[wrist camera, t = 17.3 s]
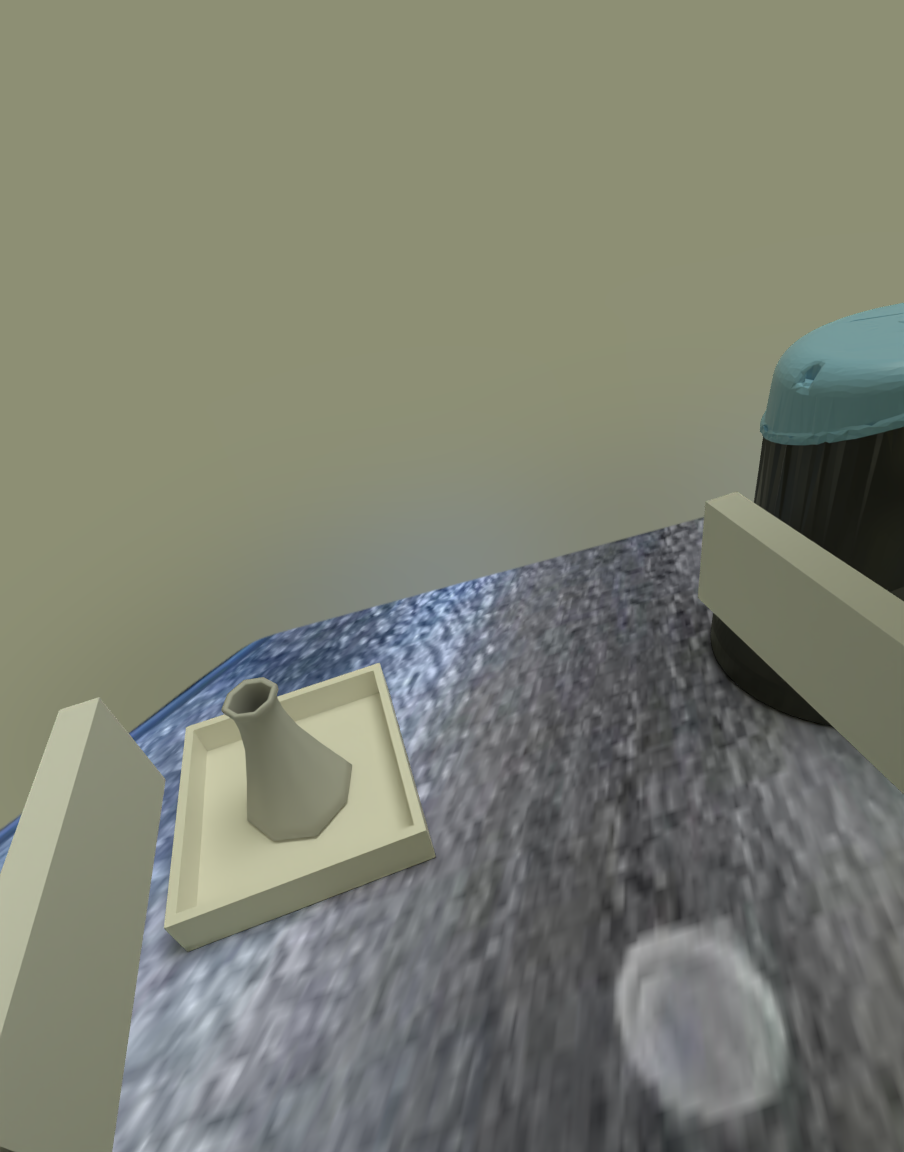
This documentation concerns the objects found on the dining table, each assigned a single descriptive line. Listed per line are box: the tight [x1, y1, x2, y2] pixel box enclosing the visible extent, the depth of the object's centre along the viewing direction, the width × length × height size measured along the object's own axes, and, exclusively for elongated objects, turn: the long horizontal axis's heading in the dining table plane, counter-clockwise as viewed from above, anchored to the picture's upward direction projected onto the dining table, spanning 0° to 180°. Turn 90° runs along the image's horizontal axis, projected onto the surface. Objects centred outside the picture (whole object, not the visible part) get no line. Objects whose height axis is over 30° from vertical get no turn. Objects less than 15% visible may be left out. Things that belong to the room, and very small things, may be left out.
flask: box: [222, 677, 352, 841], centre depth 39 cm, size 7×7×10 cm
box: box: [164, 663, 436, 952], centre depth 41 cm, size 15×15×3 cm
